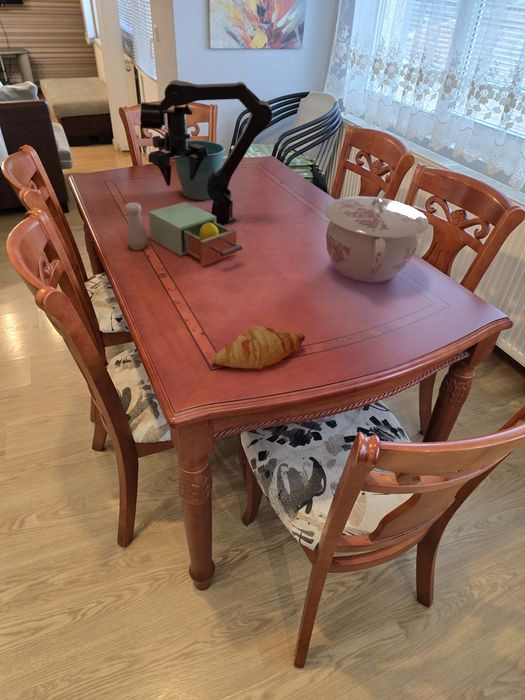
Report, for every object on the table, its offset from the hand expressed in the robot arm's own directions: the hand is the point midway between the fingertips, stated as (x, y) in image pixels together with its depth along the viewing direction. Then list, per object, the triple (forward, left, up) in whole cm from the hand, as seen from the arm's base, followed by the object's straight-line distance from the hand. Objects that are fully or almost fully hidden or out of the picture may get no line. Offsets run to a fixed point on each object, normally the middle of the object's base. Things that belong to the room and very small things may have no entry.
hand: (180, 182), depth 148 cm
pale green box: (+10, +14, -12) cm, 21 cm away
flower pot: (-19, -14, -12) cm, 27 cm away
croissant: (+32, +69, -12) cm, 77 cm away
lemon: (+10, +26, -10) cm, 30 cm away
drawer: (+10, +27, -11) cm, 31 cm away
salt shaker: (+23, +9, -12) cm, 28 cm away
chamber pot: (-18, +61, -12) cm, 65 cm away
